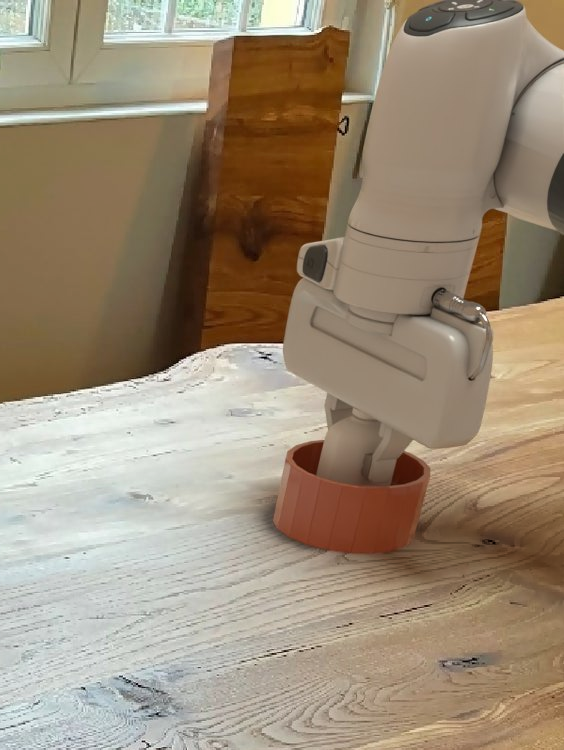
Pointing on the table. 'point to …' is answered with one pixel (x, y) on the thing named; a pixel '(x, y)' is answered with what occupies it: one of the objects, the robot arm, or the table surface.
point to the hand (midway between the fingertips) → (356, 468)
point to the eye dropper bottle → (350, 449)
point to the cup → (349, 505)
